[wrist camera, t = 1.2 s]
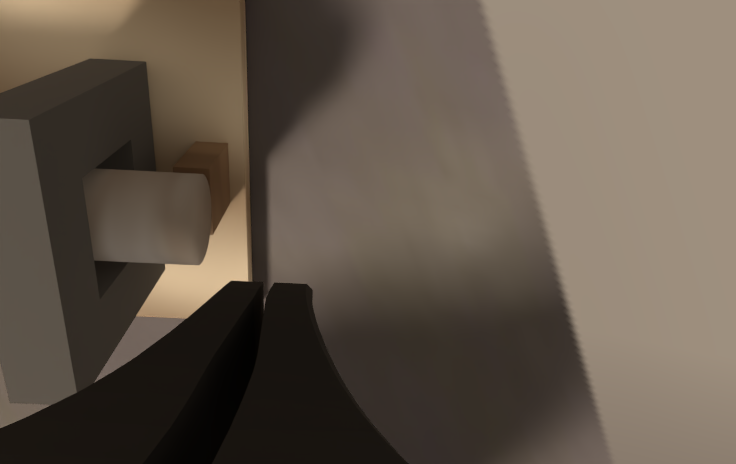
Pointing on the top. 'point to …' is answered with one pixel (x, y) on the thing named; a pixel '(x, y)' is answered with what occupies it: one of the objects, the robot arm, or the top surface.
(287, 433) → the robot arm
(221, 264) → the pipe stand
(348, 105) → the top surface
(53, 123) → the collar
